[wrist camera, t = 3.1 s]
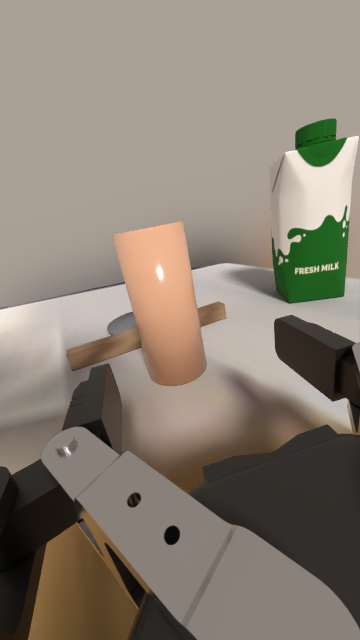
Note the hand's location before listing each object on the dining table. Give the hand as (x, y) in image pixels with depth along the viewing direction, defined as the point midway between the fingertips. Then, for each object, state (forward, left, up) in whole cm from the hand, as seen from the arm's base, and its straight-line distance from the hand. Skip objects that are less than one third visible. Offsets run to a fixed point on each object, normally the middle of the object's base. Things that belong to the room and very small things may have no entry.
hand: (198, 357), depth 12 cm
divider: (-10, +15, -7) cm, 20 cm away
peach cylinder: (-5, +9, -7) cm, 13 cm away
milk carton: (+9, +29, -7) cm, 31 cm away
